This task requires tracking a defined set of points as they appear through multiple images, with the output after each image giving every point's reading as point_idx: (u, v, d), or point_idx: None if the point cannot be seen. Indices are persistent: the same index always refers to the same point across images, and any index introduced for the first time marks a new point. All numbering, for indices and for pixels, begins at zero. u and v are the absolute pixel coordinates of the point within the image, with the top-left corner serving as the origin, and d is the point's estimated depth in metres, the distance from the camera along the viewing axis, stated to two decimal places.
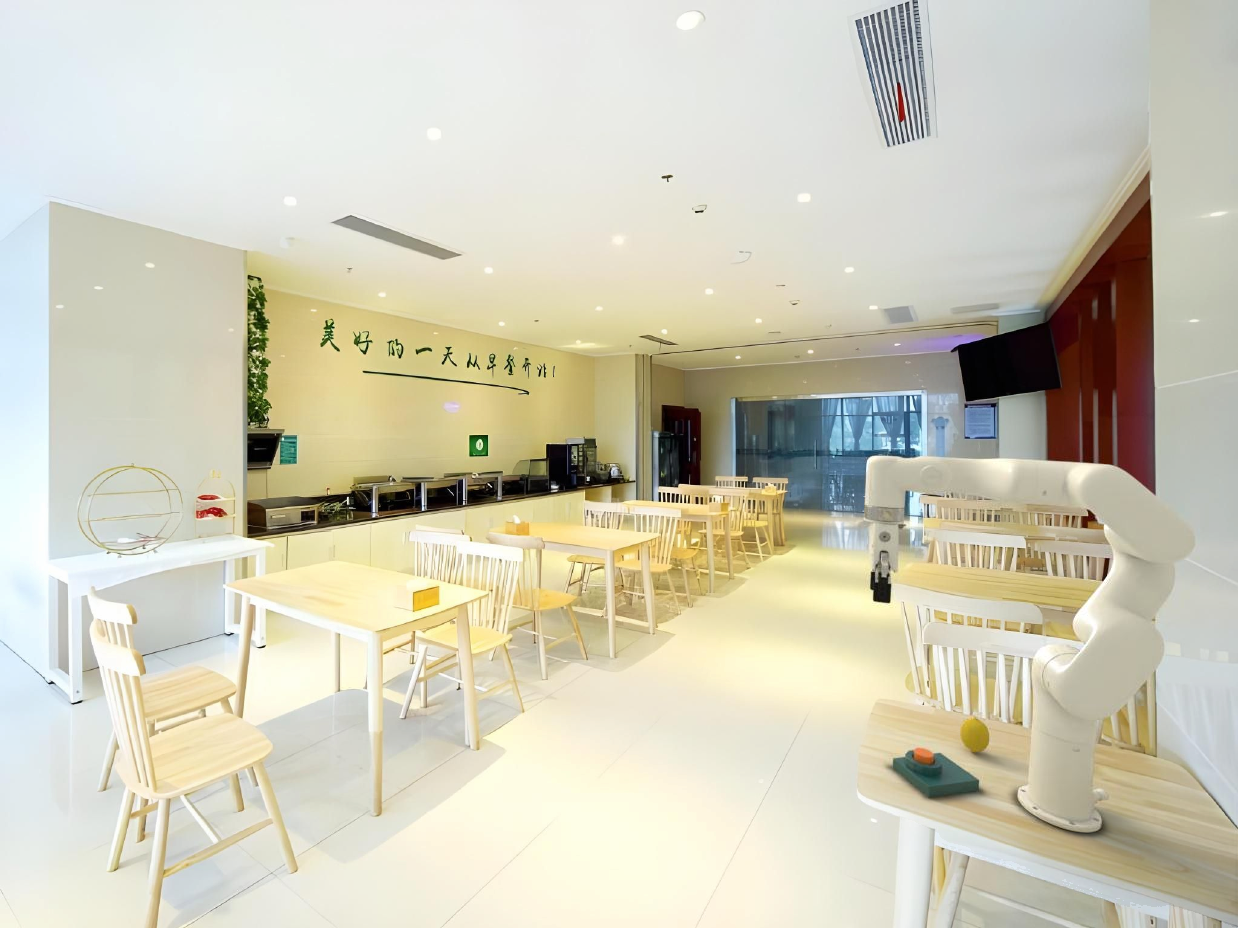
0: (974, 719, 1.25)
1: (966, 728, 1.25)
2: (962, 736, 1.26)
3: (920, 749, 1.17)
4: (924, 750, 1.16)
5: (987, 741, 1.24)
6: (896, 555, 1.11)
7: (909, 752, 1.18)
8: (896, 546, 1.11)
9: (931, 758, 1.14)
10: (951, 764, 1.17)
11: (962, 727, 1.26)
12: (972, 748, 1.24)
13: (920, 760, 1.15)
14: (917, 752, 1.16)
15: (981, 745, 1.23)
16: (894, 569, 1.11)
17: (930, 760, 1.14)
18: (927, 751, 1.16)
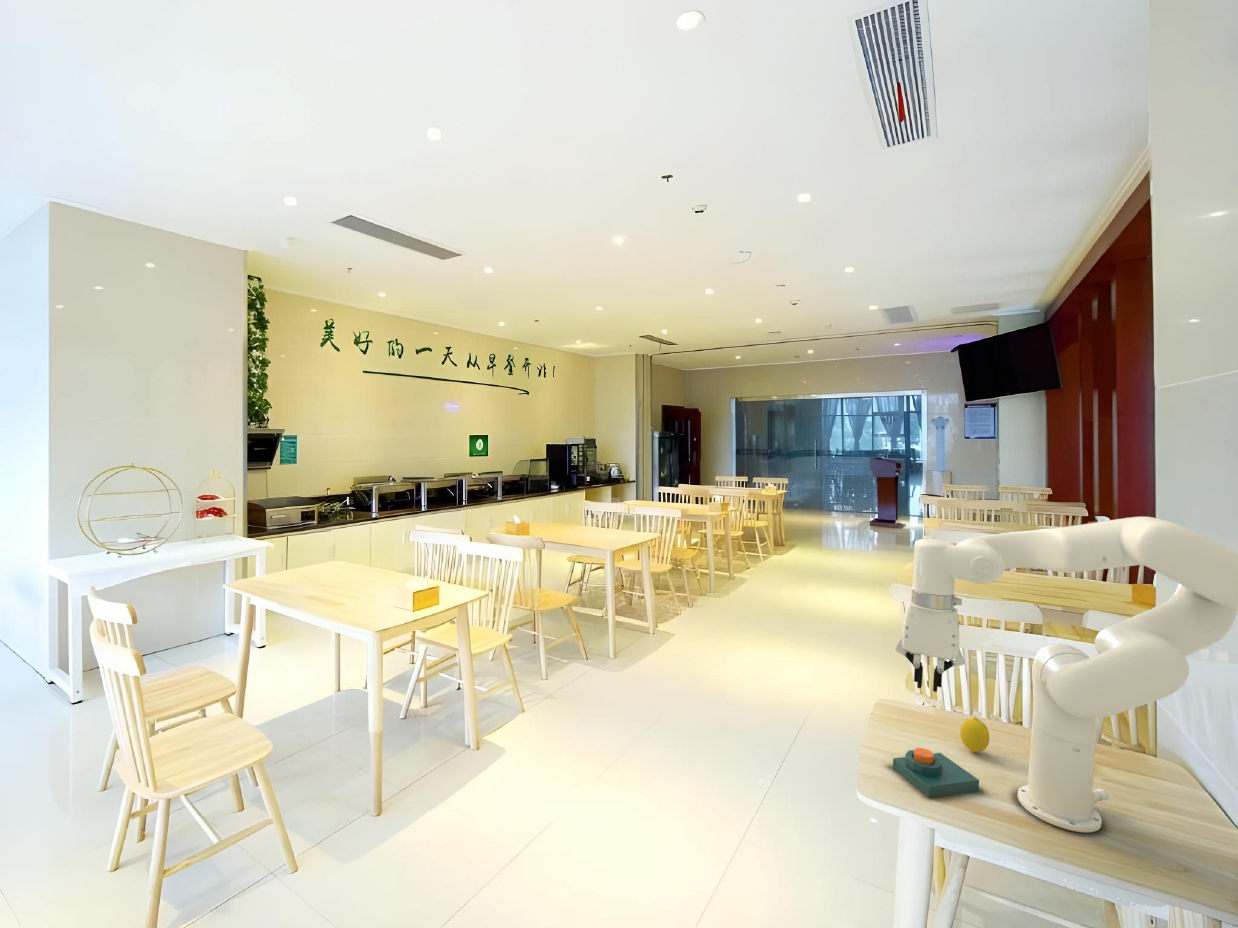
0: (974, 719, 1.25)
1: (966, 728, 1.25)
2: (962, 736, 1.26)
3: (920, 749, 1.17)
4: (924, 750, 1.16)
5: (987, 741, 1.24)
6: None
7: (909, 752, 1.18)
8: None
9: (931, 758, 1.14)
10: (951, 764, 1.17)
11: (962, 727, 1.26)
12: (972, 748, 1.24)
13: (920, 760, 1.15)
14: (917, 752, 1.16)
15: (981, 745, 1.23)
16: None
17: (930, 760, 1.14)
18: (927, 751, 1.16)
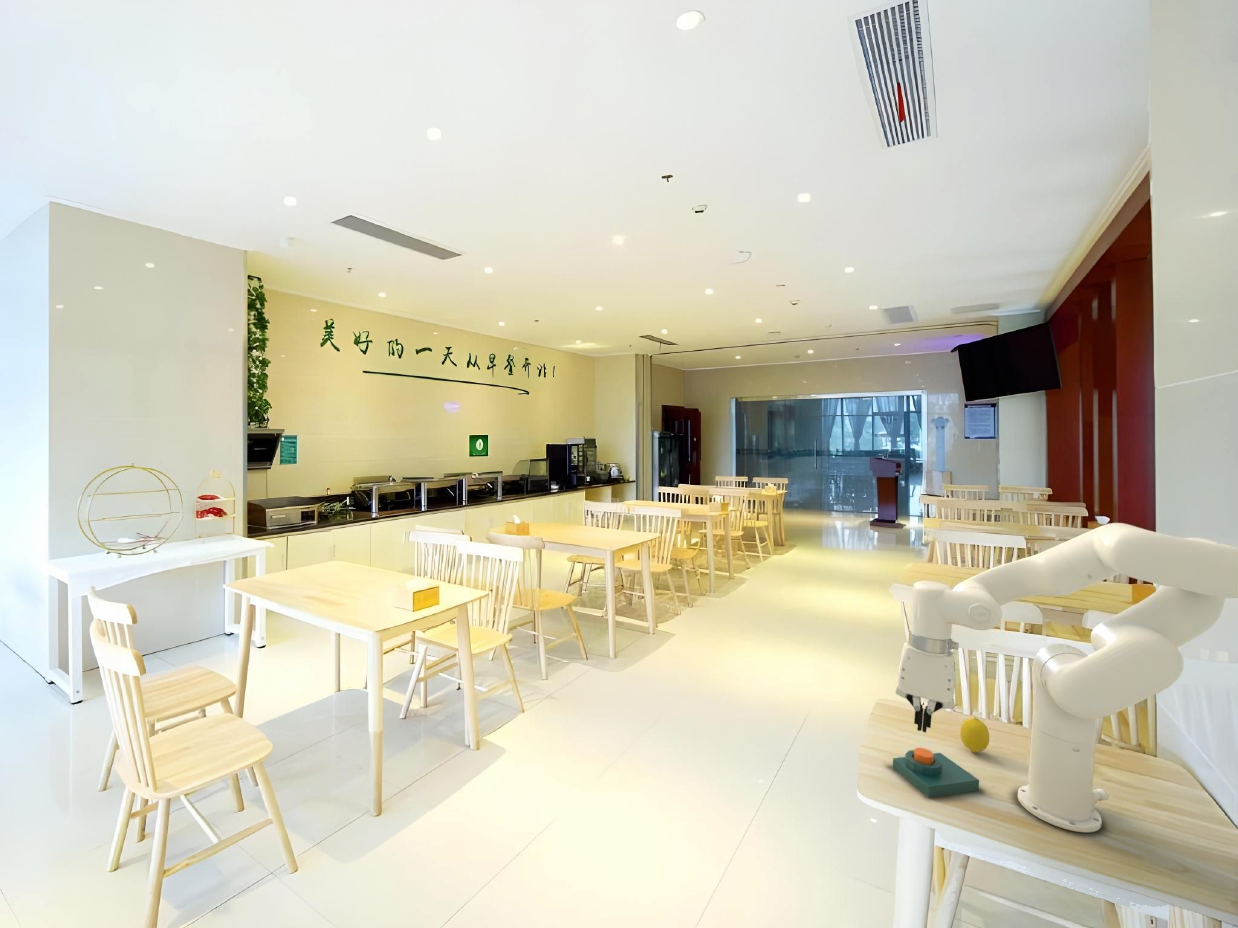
0: (974, 719, 1.25)
1: (966, 728, 1.25)
2: (962, 736, 1.26)
3: (920, 749, 1.17)
4: (924, 750, 1.16)
5: (987, 741, 1.24)
6: None
7: (909, 752, 1.18)
8: None
9: (931, 758, 1.14)
10: (951, 764, 1.17)
11: (962, 727, 1.26)
12: (972, 748, 1.24)
13: (920, 760, 1.15)
14: (917, 752, 1.16)
15: (981, 745, 1.23)
16: None
17: (930, 760, 1.14)
18: (927, 751, 1.16)
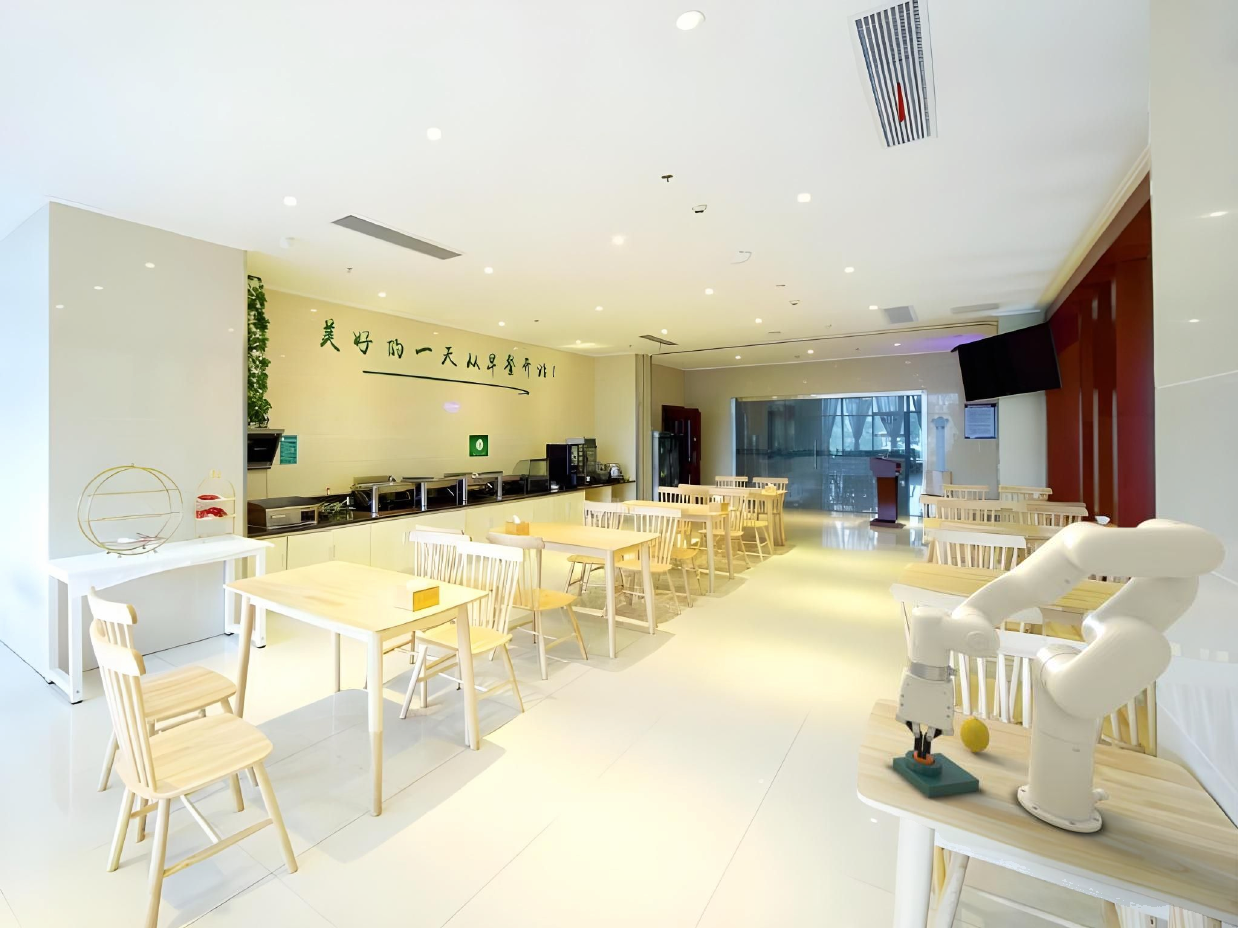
0: (974, 719, 1.25)
1: (966, 728, 1.25)
2: (962, 736, 1.26)
3: None
4: None
5: (987, 741, 1.24)
6: None
7: (909, 752, 1.18)
8: None
9: (931, 761, 1.14)
10: (951, 764, 1.17)
11: (962, 727, 1.26)
12: (972, 748, 1.24)
13: None
14: None
15: (981, 745, 1.23)
16: None
17: (930, 763, 1.14)
18: (927, 754, 1.16)
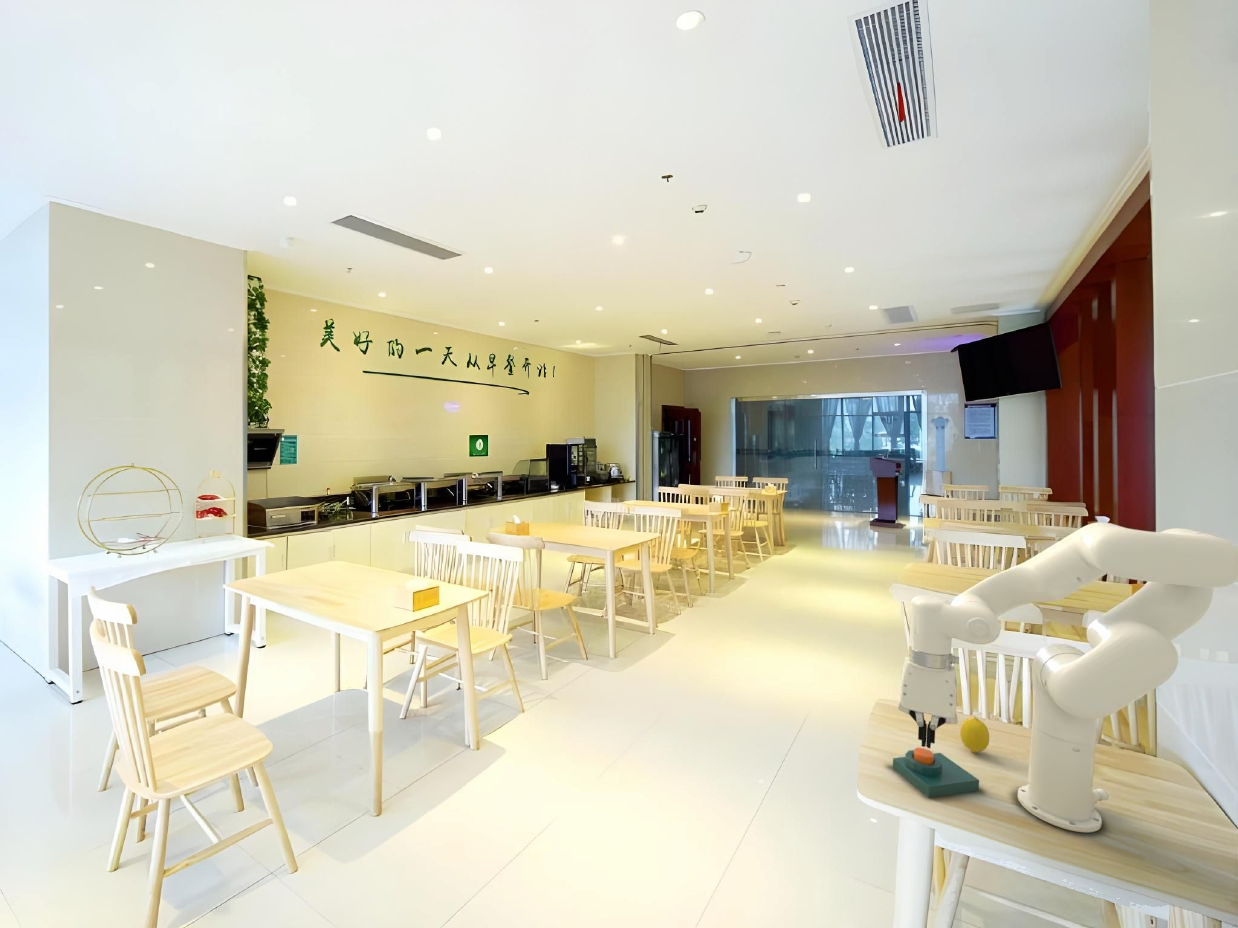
0: (974, 719, 1.25)
1: (966, 728, 1.25)
2: (962, 736, 1.26)
3: (920, 749, 1.17)
4: (924, 750, 1.16)
5: (987, 741, 1.24)
6: None
7: (909, 752, 1.18)
8: None
9: (931, 758, 1.14)
10: (951, 764, 1.17)
11: (962, 727, 1.26)
12: (972, 748, 1.24)
13: (920, 760, 1.15)
14: (917, 752, 1.16)
15: (981, 745, 1.23)
16: None
17: (930, 760, 1.14)
18: (927, 751, 1.16)
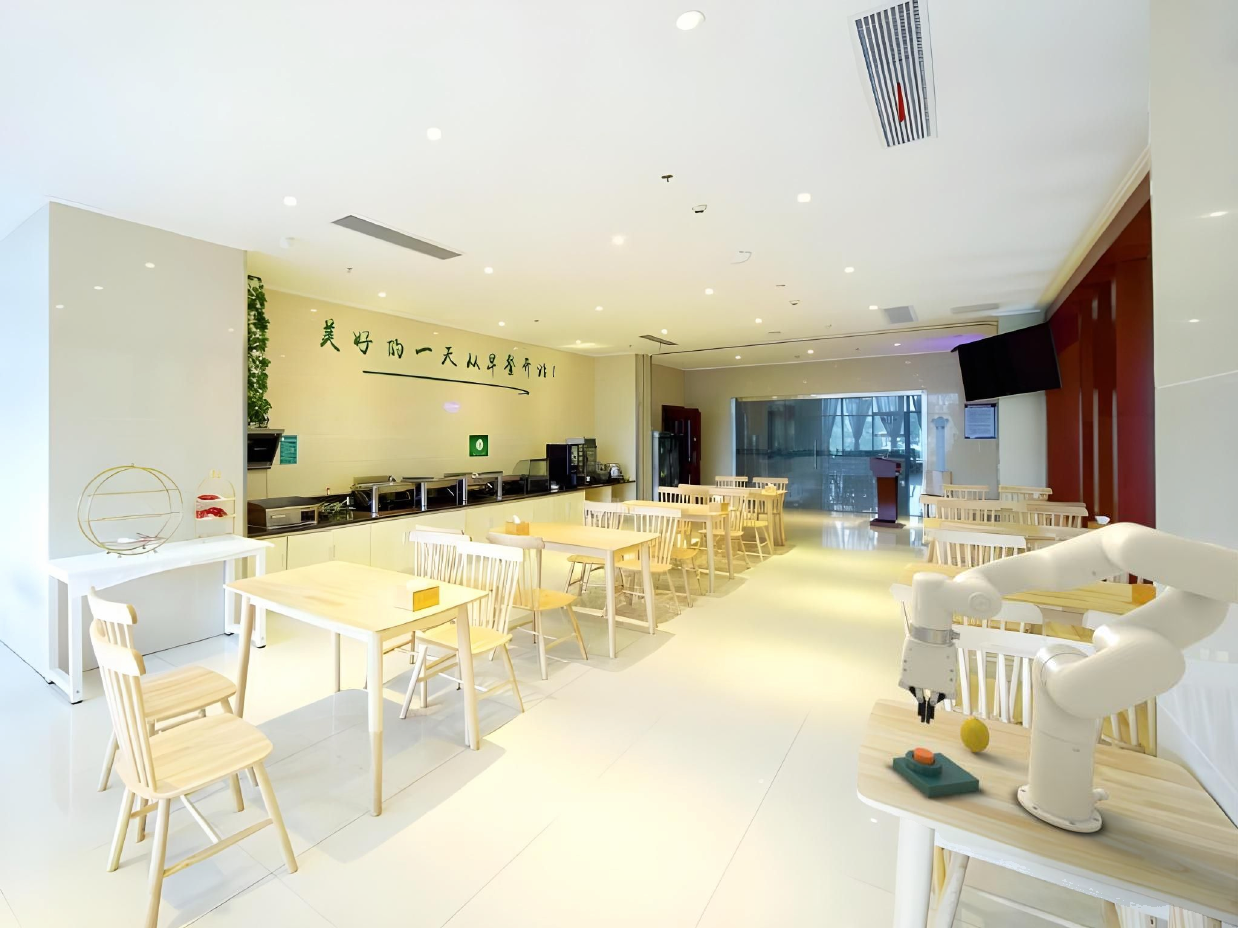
0: (974, 719, 1.25)
1: (966, 728, 1.25)
2: (962, 736, 1.26)
3: (920, 749, 1.17)
4: (924, 750, 1.16)
5: (987, 741, 1.24)
6: None
7: (909, 752, 1.18)
8: None
9: (931, 758, 1.14)
10: (951, 764, 1.17)
11: (962, 727, 1.26)
12: (972, 748, 1.24)
13: (920, 760, 1.15)
14: (917, 752, 1.16)
15: (981, 745, 1.23)
16: None
17: (930, 760, 1.14)
18: (927, 751, 1.16)
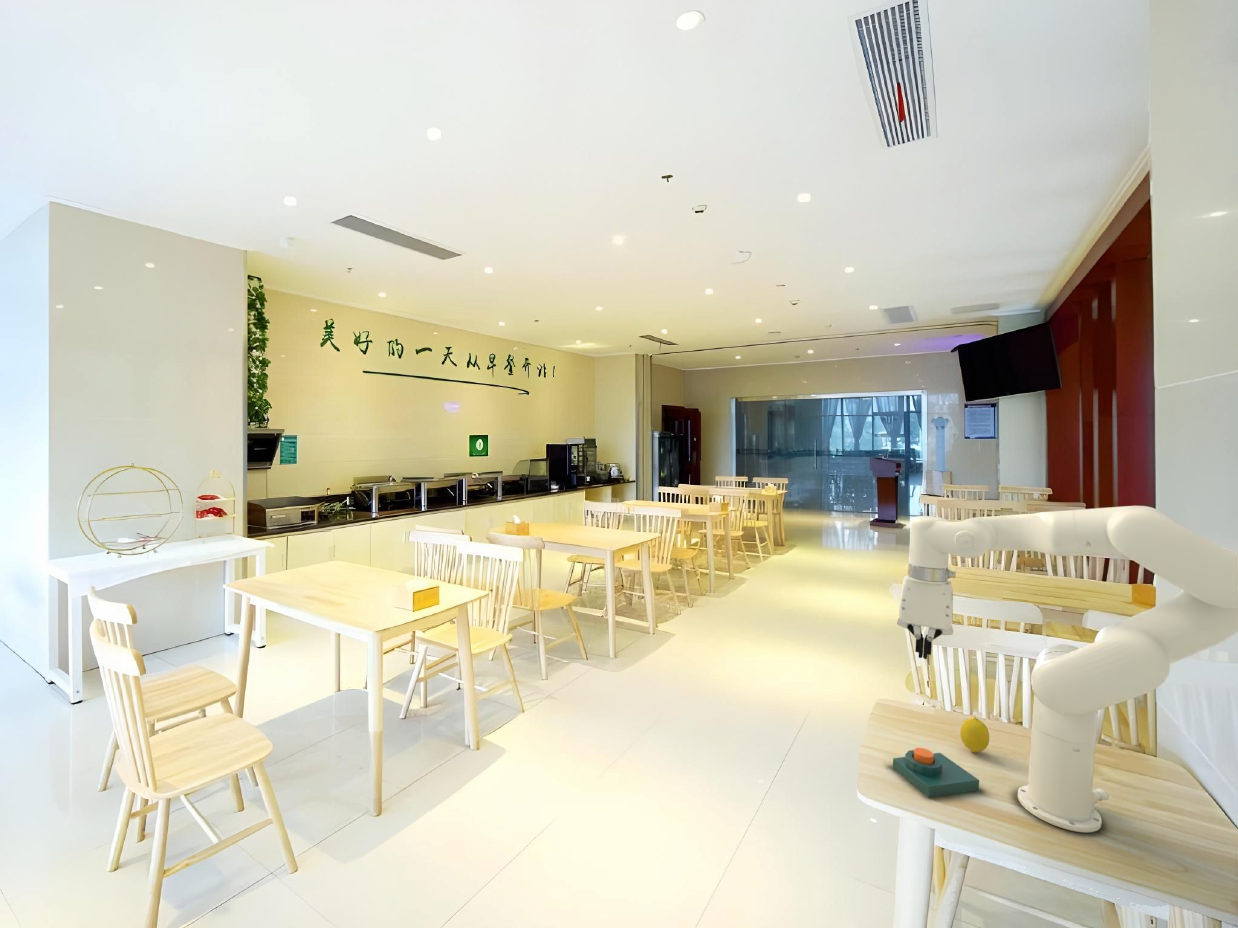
0: (974, 719, 1.25)
1: (966, 728, 1.25)
2: (962, 736, 1.26)
3: (920, 749, 1.17)
4: (924, 750, 1.16)
5: (987, 741, 1.24)
6: None
7: (909, 752, 1.18)
8: None
9: (931, 758, 1.14)
10: (951, 764, 1.17)
11: (962, 727, 1.26)
12: (972, 748, 1.24)
13: (920, 760, 1.15)
14: (917, 752, 1.16)
15: (981, 745, 1.23)
16: None
17: (930, 760, 1.14)
18: (927, 751, 1.16)
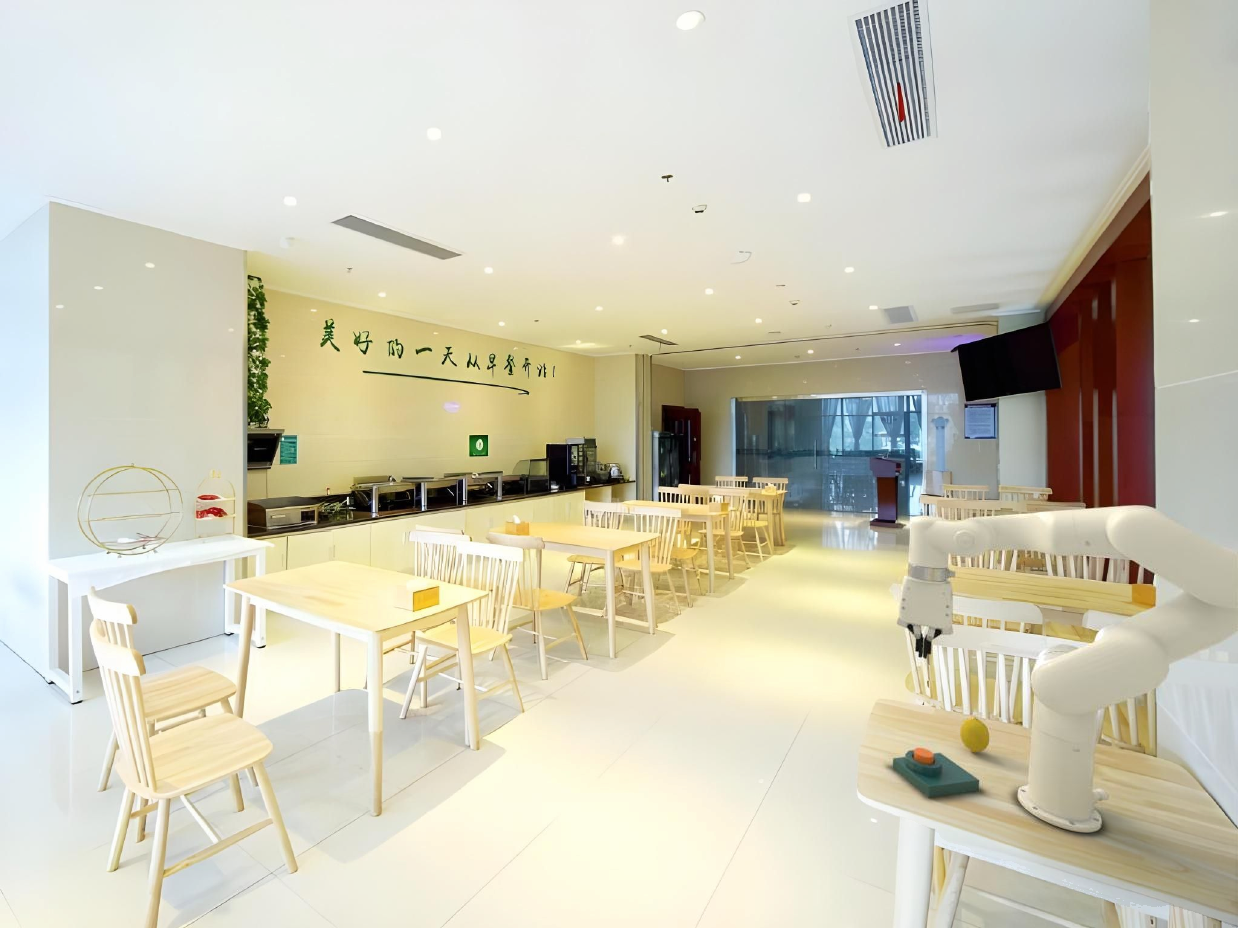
0: (974, 719, 1.25)
1: (966, 728, 1.25)
2: (962, 736, 1.26)
3: (920, 749, 1.17)
4: (924, 750, 1.16)
5: (987, 741, 1.24)
6: None
7: (909, 752, 1.18)
8: None
9: (931, 758, 1.14)
10: (951, 764, 1.17)
11: (962, 727, 1.26)
12: (972, 748, 1.24)
13: (920, 760, 1.15)
14: (917, 752, 1.16)
15: (981, 745, 1.23)
16: None
17: (930, 760, 1.14)
18: (927, 751, 1.16)
